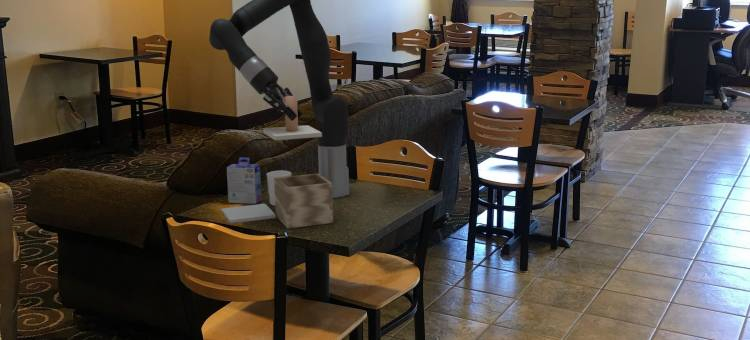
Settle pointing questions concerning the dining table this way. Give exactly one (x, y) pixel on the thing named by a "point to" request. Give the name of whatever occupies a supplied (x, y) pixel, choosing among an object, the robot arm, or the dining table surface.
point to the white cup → (271, 183)
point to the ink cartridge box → (244, 182)
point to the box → (303, 200)
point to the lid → (292, 126)
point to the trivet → (248, 213)
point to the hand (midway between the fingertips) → (297, 117)
